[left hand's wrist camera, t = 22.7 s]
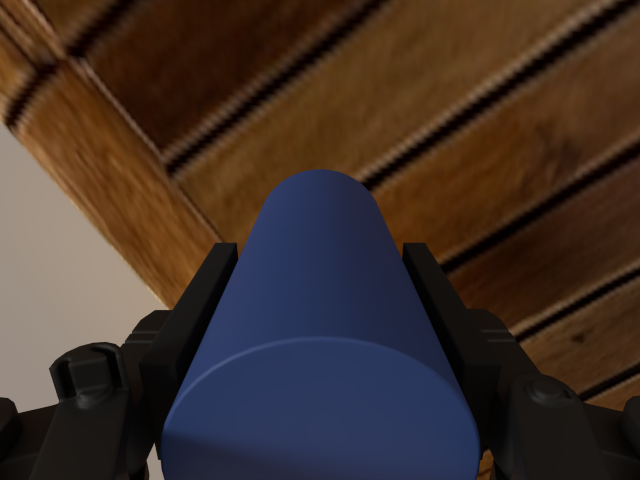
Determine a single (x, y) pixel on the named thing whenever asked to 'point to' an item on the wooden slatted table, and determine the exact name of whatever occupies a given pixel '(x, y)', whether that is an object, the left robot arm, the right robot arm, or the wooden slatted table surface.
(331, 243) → the cylinder
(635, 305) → the wooden slatted table surface
